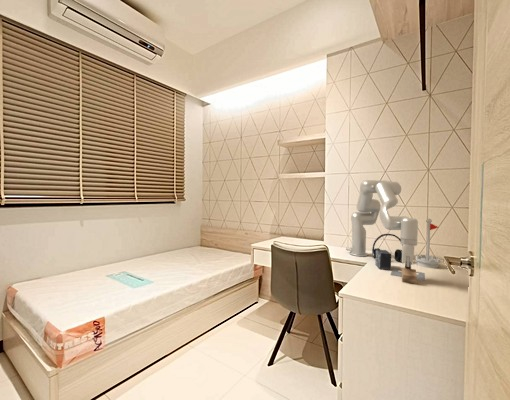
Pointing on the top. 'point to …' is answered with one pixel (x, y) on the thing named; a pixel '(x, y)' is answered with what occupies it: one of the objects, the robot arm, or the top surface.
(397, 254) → the headphones
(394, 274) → the letter board
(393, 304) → the top surface
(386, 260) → the small box
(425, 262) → the marker stand
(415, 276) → the walnut block
